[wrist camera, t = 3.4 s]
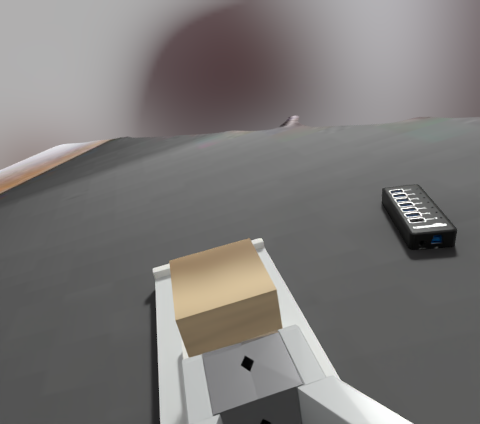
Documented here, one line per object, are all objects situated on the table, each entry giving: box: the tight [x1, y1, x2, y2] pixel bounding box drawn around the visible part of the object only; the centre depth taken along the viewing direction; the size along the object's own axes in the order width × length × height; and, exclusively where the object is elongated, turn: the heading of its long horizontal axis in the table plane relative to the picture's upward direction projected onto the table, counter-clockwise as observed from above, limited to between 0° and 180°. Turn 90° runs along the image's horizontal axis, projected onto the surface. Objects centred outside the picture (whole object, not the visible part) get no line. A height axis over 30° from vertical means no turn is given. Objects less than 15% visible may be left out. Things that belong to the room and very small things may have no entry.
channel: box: [153, 238, 340, 424], centre depth 25 cm, size 28×12×2 cm, turn 14°
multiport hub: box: [382, 184, 457, 250], centre depth 39 cm, size 4×11×2 cm, turn 175°
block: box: [169, 238, 283, 358], centre depth 21 cm, size 5×5×10 cm
